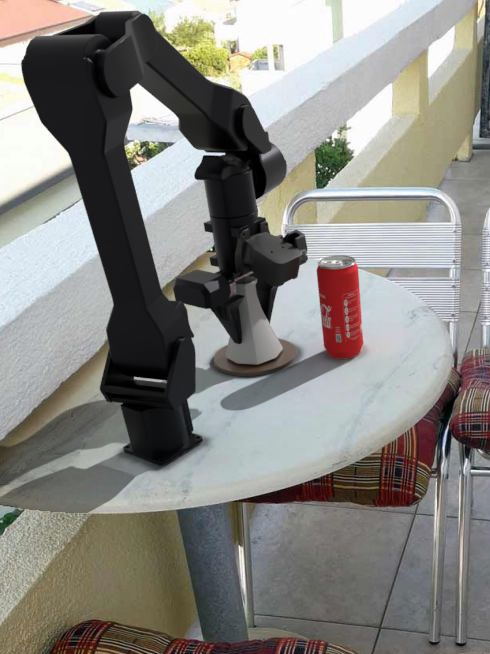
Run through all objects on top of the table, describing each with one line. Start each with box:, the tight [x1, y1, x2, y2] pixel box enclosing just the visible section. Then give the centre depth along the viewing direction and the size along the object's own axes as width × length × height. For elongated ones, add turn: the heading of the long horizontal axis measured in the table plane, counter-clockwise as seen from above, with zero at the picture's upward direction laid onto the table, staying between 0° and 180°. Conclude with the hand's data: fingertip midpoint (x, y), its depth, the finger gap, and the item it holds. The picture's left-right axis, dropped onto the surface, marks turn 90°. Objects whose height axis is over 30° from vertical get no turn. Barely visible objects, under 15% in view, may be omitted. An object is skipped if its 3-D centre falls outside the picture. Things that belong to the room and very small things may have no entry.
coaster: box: [213, 338, 298, 377], centre depth 113 cm, size 11×11×1 cm
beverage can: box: [316, 254, 364, 360], centre depth 110 cm, size 5×5×12 cm
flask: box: [226, 276, 283, 365], centre depth 110 cm, size 7×7×10 cm
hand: (251, 335), depth 111 cm, fingers closed on flask, 5 cm apart
